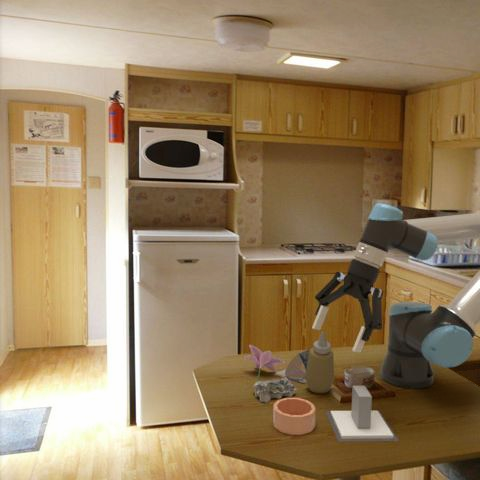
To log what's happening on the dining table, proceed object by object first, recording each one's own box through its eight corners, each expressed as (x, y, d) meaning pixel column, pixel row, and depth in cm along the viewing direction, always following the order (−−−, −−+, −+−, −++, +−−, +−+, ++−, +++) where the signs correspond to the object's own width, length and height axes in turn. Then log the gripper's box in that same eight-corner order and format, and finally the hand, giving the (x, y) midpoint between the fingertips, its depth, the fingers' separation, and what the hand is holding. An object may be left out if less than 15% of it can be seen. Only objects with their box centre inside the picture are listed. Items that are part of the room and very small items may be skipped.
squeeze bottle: (298, 383, 143) (302, 328, 137) (322, 376, 146) (327, 322, 140) (314, 400, 136) (318, 343, 130) (338, 392, 139) (344, 336, 133)
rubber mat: (379, 413, 128) (380, 411, 128) (399, 443, 114) (399, 440, 114) (325, 414, 127) (325, 411, 127) (338, 443, 114) (338, 441, 113)
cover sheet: (377, 413, 127) (379, 380, 126) (393, 438, 115) (395, 402, 114) (330, 413, 126) (331, 380, 125) (341, 439, 114) (343, 402, 113)
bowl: (310, 416, 126) (311, 397, 125) (317, 436, 116) (318, 416, 116) (271, 416, 126) (272, 397, 125) (275, 437, 116) (276, 416, 115)
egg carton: (261, 405, 133) (261, 390, 132) (251, 393, 140) (251, 379, 139) (298, 399, 136) (298, 385, 135) (287, 388, 143) (287, 374, 142)
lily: (288, 383, 148) (291, 351, 152) (260, 377, 141) (263, 343, 145) (260, 383, 157) (263, 352, 160) (232, 377, 150) (236, 345, 153)
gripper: (321, 245, 134) (292, 318, 135) (401, 276, 115) (366, 360, 116) (337, 252, 139) (309, 322, 140) (416, 282, 120) (382, 363, 121)
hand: (335, 340), depth 128 cm, fingers open, 13 cm apart
